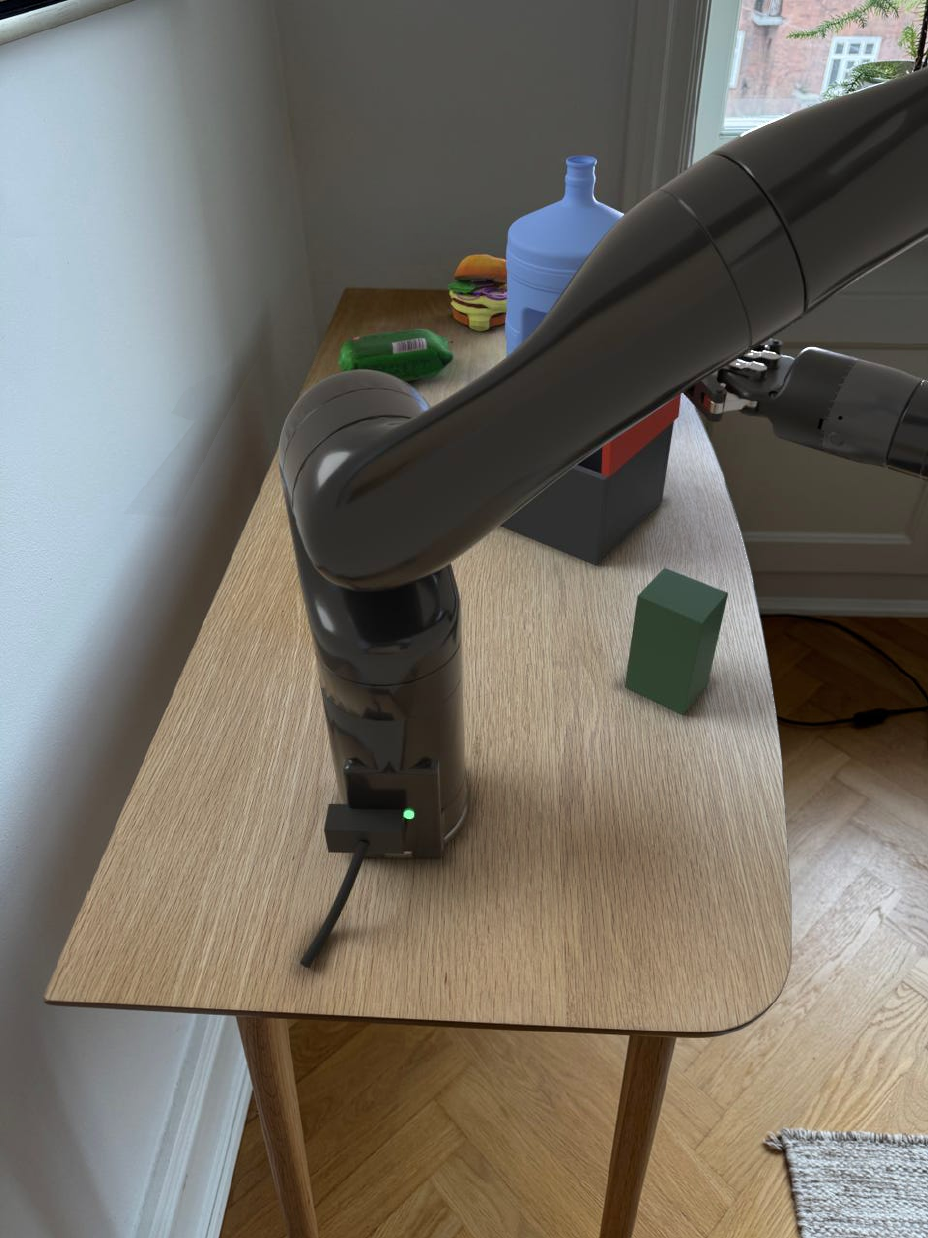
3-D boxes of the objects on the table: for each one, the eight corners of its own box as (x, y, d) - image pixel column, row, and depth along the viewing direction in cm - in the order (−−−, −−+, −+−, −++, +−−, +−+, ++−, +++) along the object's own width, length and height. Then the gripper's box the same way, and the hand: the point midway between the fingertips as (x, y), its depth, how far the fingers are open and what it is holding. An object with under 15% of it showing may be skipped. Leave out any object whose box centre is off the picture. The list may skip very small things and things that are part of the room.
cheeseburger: (442, 331, 131) (442, 256, 126) (455, 319, 140) (455, 249, 136) (512, 333, 129) (515, 258, 125) (521, 321, 139) (523, 250, 134)
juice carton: (683, 715, 74) (702, 623, 68) (624, 687, 77) (637, 595, 70) (708, 684, 77) (728, 592, 70) (650, 657, 80) (664, 566, 73)
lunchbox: (453, 506, 98) (451, 424, 91) (525, 452, 106) (528, 373, 99) (596, 565, 89) (604, 480, 83) (662, 502, 98) (674, 419, 91)
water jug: (487, 383, 119) (486, 148, 100) (598, 365, 122) (617, 134, 104) (530, 442, 107) (539, 188, 89) (651, 419, 111) (683, 171, 92)
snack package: (461, 380, 120) (460, 342, 116) (342, 395, 117) (338, 356, 113) (448, 357, 125) (447, 320, 122) (334, 371, 122) (330, 334, 119)
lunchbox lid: (610, 267, 71) (619, 269, 71) (690, 220, 79) (698, 221, 79) (601, 474, 83) (609, 477, 82) (671, 414, 91) (678, 416, 91)
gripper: (888, 333, 74) (693, 286, 82) (828, 396, 66) (619, 337, 74) (863, 416, 79) (681, 364, 87) (804, 484, 71) (610, 420, 79)
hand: (653, 352), depth 81 cm, fingers closed
